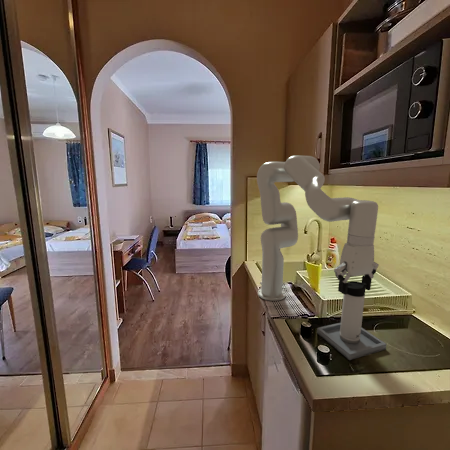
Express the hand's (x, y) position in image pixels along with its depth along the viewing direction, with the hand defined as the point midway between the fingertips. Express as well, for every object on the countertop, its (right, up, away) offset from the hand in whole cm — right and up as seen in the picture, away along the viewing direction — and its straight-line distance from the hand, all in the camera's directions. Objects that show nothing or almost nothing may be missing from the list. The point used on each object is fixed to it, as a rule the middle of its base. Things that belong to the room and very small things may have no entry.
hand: (354, 290), depth 89 cm
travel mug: (0, -17, +3) cm, 18 cm away
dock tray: (0, -18, +3) cm, 18 cm away
